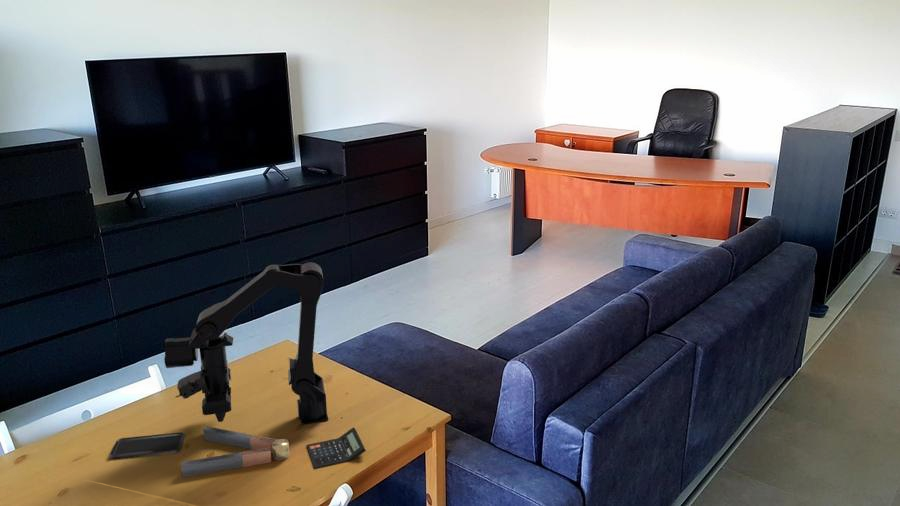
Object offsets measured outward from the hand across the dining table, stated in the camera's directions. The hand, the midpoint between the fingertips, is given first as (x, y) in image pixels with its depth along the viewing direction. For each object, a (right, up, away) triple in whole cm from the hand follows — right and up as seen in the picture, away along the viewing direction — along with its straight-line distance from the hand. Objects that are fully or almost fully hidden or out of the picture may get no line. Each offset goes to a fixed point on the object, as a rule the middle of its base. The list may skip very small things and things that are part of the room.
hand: (220, 421), depth 162 cm
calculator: (+29, -5, -9) cm, 31 cm away
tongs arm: (+8, -4, -8) cm, 12 cm away
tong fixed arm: (+7, -7, -15) cm, 18 cm away
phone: (-14, -5, -7) cm, 17 cm away
